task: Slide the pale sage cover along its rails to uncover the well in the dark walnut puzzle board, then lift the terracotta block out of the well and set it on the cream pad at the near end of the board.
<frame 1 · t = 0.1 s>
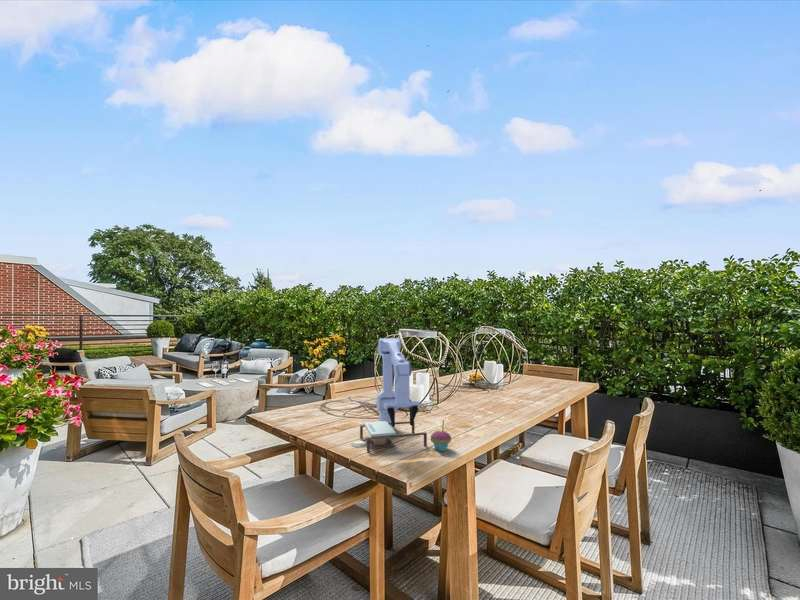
hand: (402, 425, 158), 10 cm above the table, fingers open, 7 cm apart
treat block: (379, 442, 164), point 1 cm above the table, touching puzzle board
puzzle board: (386, 444, 165), on the table
slide cover: (379, 428, 164), point 7 cm above the table, slide at 0.0 cm
cupcake: (441, 449, 159), on the table
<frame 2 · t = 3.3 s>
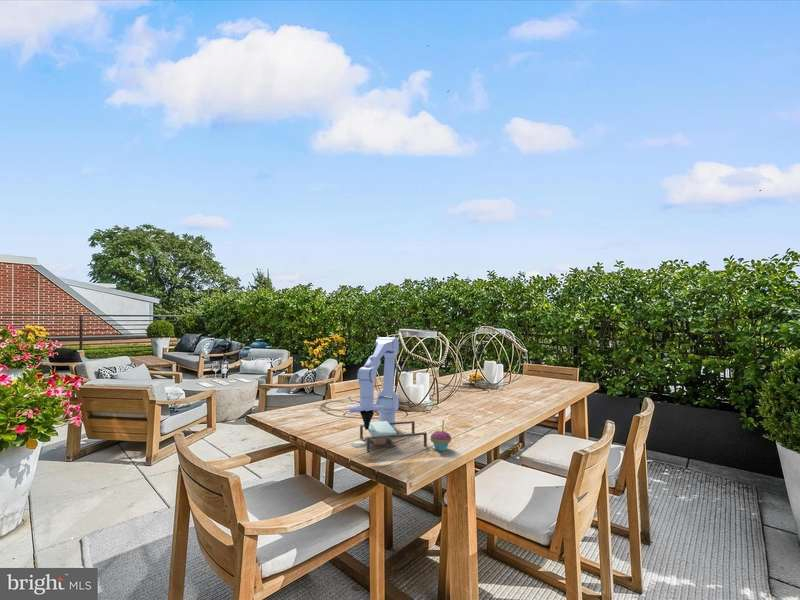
hand: (366, 428, 163), 7 cm above the table, fingers closed
slide cover: (380, 428, 164), point 7 cm above the table, slide at 0.3 cm, touching gripper
everything else where it was.
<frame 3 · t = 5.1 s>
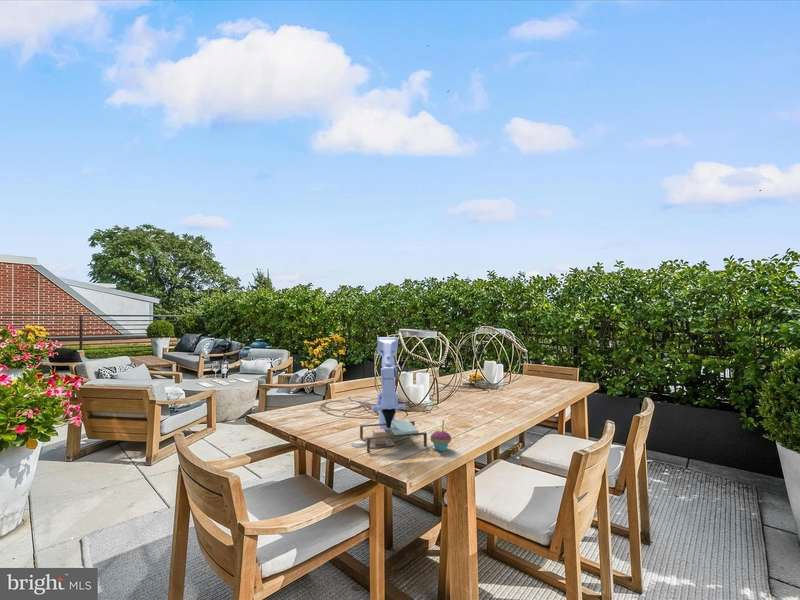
hand: (388, 427, 165), 7 cm above the table, fingers closed
slide cover: (401, 426, 166), point 7 cm above the table, slide at 9.7 cm, touching gripper
everything else where it was.
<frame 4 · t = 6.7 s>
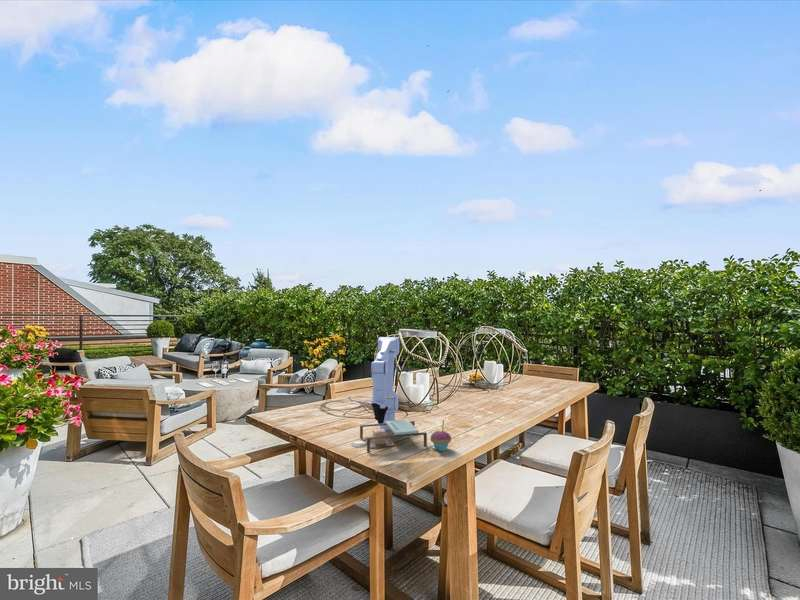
hand: (379, 421, 164), 10 cm above the table, fingers open, 5 cm apart
slide cover: (401, 426, 166), point 7 cm above the table, slide at 9.7 cm
everything else where it was.
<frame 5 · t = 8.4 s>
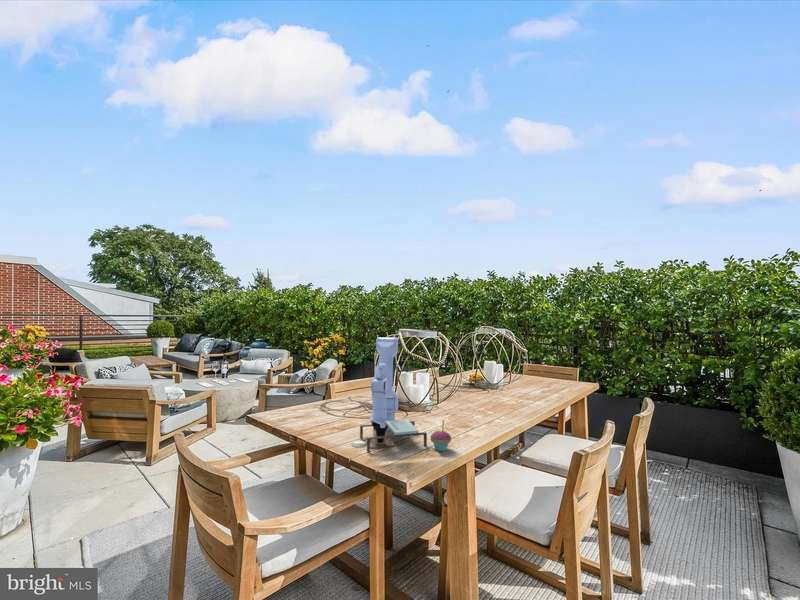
hand: (379, 440, 164), 2 cm above the table, fingers closed on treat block, 4 cm apart
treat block: (379, 442, 164), point 1 cm above the table, touching gripper, puzzle board
everything else where it was.
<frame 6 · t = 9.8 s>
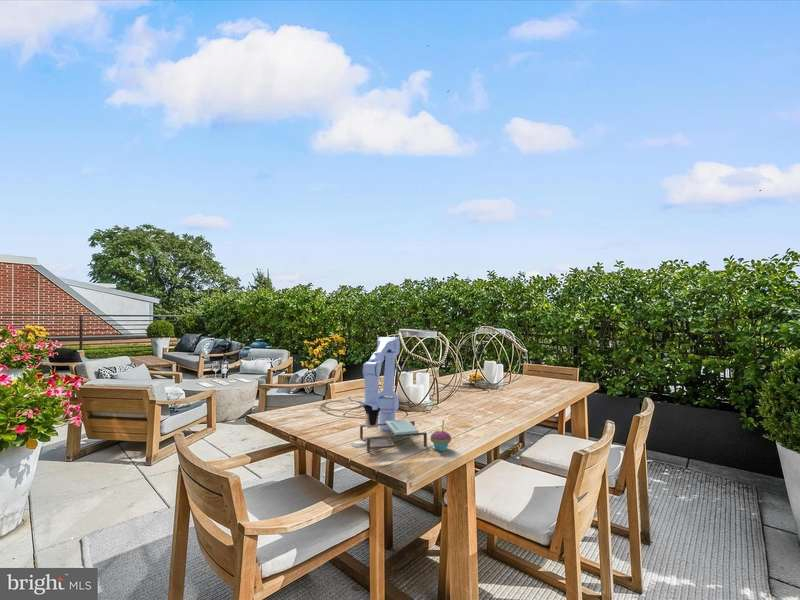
hand: (371, 423, 163), 9 cm above the table, fingers closed on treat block, 4 cm apart
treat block: (371, 426, 163), point 8 cm above the table, touching gripper
everything else where it was.
when the fingers open (4 cm above the table, at t = 11.6 s): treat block drops 1 cm, resting on puzzle board.
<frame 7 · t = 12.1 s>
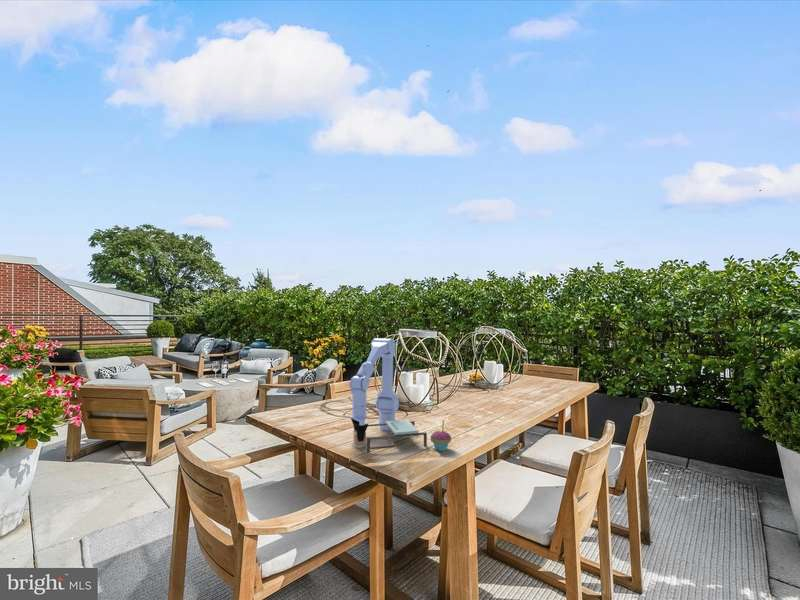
hand: (359, 438, 162), 4 cm above the table, fingers open, 7 cm apart
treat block: (359, 443, 162), point 1 cm above the table, touching puzzle board
everything else where it was.
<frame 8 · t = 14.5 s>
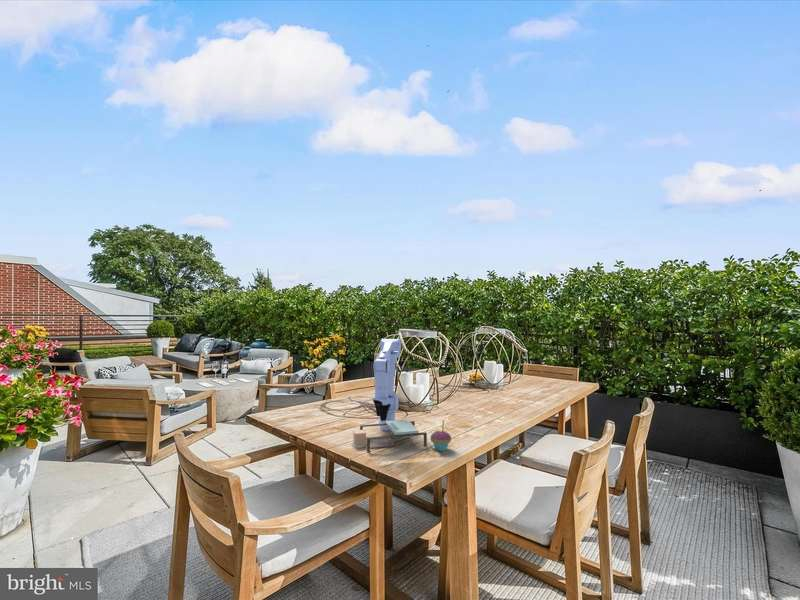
hand: (381, 418, 169), 10 cm above the table, fingers open, 7 cm apart
nothing on the table moved.
at the end: slide cover slide at 9.7 cm; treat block inside the target area (0.2 cm from its centre), point 1.3 cm above the table; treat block tilted 0° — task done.
